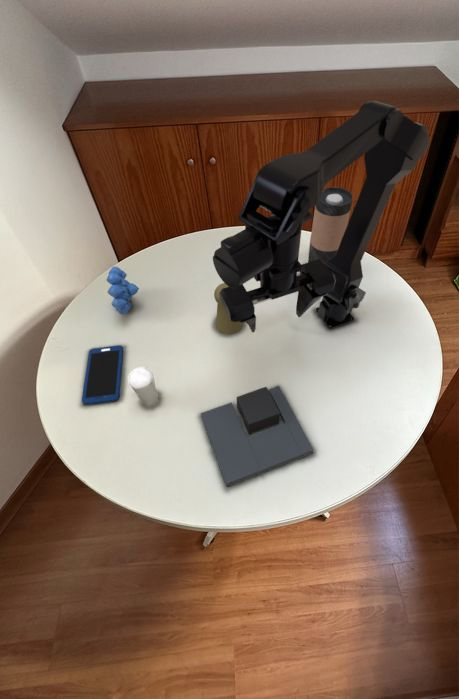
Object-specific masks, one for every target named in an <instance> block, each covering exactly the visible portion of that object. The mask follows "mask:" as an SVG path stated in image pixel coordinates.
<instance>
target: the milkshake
mask: <svg viewBox="0 0 459 699" xmlns="http://www.w3.org/2000/svg"><path fill="white" fill-rule="evenodd" d="M127 383H128V385H129V386H130V387H131V389H132V391H134V393H135V395H136V396H137V398H138V399H139V401H140V402H141V403H142V405H143V406H145V407H146V408H152V407H154V406H156V405H157V404H158V402H159V400H160V399H159V395H158V391H157V386H156V382H155V377H154V372H153V371H152V369H150V368H148V367H147V366H138V367H135V368H134V369H132V370H131V372H130V373H129V374H128V376H127Z"/></svg>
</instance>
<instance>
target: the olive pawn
mask: <svg viewBox="0 0 459 699" xmlns="http://www.w3.org/2000/svg"><path fill="white" fill-rule="evenodd" d="M226 287H229V286H227V285H226V284H225V283H224V282H223V283H220V284H219V285H217V286H216V288H215V289H214V291H213V292H214V293H213V298H214V301H215V302H216V304H217V305H216V317H215V320H216V321H215V328H216V329H217V331H218V332H219V333H221V334H223V335H232V334H236V333H238V332H239V331H240V330H242V327H243V323H240V322H233V321H230V319H229V317H228V315H227V313H226V311H225V309H224V307H223V305H222V303H221V301H220V296H219V293H220V291H221V289H223V288H226Z"/></svg>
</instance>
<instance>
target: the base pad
mask: <svg viewBox="0 0 459 699" xmlns="http://www.w3.org/2000/svg"><path fill="white" fill-rule="evenodd" d="M268 391H269V393H270V395H271V397H272V398H273V400H274V402H275V404H276V406H277V408H278V410H279V412H280V417H279V418H280V419H281V421H282V423H281V424H277V425H274V426H272V427H269V428H266V429H265V430H261V431H258V432H256V433H253V434H250V435H249V436H247V435H246V432H245V431H244V428H243V425H242V423H241V421H240V419H239V416H238V414H237V412H236V409H235V407H234V405H233V402H229V403H226V404H223V405H220V406H217V407H214V408H211V409H209V410H206V411H203V412H200V417H201V420H202V422H203V425H204V428H205V431H206V433H207V436H208V439H209V442H210V444H211V448H212V450H213V453H214V457H215V459H216V461H217V465H218V467H219V469H220V470H219V471H220V472H221V475H222V478H223V481H224V484H225V487H227V488H228V487H230V486H233V485H236V484H238V483H241V482H243V481H246V480H249V479H250V478H253V477H256V476H258V475H261V474H263V473H265V472H268V471H271V470H273V469H275V468H279V467H282V466H284V465H286V464H288V463H292V462H293V461H297V460H299V459H301V458H303V457H307V456H308V455H311V454H313V453H314V447H313V446H312V444H311V442H310V440H309V438H308V436H307V435H306V433H305V431H304V429H303V427H302V425H301V424H300V421H299V420H298V418H297V416H296V415H295V412H294V411H293V409H292V406H291V405H290V403H289V401H288V400H287V398H286V396H285V394H284V393H283V391H282V388H281V387H280V385H276V386H274V387H271V388H268Z"/></svg>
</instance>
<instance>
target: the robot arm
mask: <svg viewBox="0 0 459 699" xmlns="http://www.w3.org/2000/svg"><path fill="white" fill-rule="evenodd" d="M430 140H431V138H430V135H429V134H428V126H427V125H425V124H422V123H419V122H416V121H414V120H412V119H411V118H409V117H407V116H405V114H404V113H403V111H401V110H400V109H399V108H398V107H397V106H394V105H392V104H391V105H390V104H388V103H383V102H380V101H378V100H371V101H369V100H368V101H366V102H364V103H363V104H362V105H361V107H360V108H359V110H358V111H357V112H356V113H355V114H354V115H352V116H351V117H350V118H348V119H347V120H345V121H344V122H343V123H342V124H340V125H339V126H337V127H336V128H335V129H333V130H332V131H331V132H329V133H328V134H326V135H325V136H324V137H322V138H320V140H318V141H317V142H316V143H314V144H313V145H312V146H310V147H309V148H308V149H305V150H304V151H301V152H295V153H289V154H284V155H282V156H280V157H277V158H276V159H274V160H271V161H269V162H267V163H266V164H264V165H263V166H262V167H261V168H260V169H259V170H258V172H257V173H256V176H255V178H254V180H253V182H252V185H251V187H250V189H249V192H248V194H247V196H246V198H245V201H244V202H243V205H242V206H241V207H242V208H241V210H240V212H239V214H238V216H237V220H238V221H239V222H240V223H242V224H244V229H243V230H241V231H239V232H237V233H235V234H234V235H231V236H228V237H226V238H224V239H222V240H221V241H220V247H219V248H217V249H215V251H214V252H213V256H212V262H213V266H214V269H215V271H216V274H217V275H218V276H219V278H220V279H221V281H222V282H223V283H225V284H226V285H227V286H229V287H226V288H223V289H221V291H220V293H219V296H220V301H221V303H222V305H223V307H224V309H225V311H226V313H227V315H228V317H229V319H230V321H233V322H240V323H242V324H243V323H245V324H247V325H248V327H249V329H250V331H251V333H253V334H254V333H255V332H256V329H257V316H256V314H255V305H257V304H261V303H264V302H266V301H270V300H271V301H273V300H276V299H279V298H282V297H285V296H288V295H292V294H294V293H297V297H296V298H297V299H296V306H295V314H296V316H297V318H301V317H302V316H303V315H304V314H305V313H306V312H308V310H309V309H311V307H313V305H315V304H316V303H317V302H318V301H319V300H321V301H320V302H319V306H318V307H316V308H315V313H317V316H318V317H319V318H320V320H321V321H322V323H324V325H325V326H326V327H327V328H328V329H330V330H331V329H335V328H338V327H340V326H343V325H347V324H349V323H352V322H354V321H355V317H354V316H353V314H352V311H353V309H358V308H359V307H360V304H361V302H362V301H363V300H364V298H365V296H366V294H367V292H366V291H364V290H363V289H361V288H360V286H361V284H362V281H363V278H364V275H363V268H362V259H363V257H364V255H365V253H366V251H367V248H368V246H369V244H370V242H371V240H372V237H373V235H374V233H375V231H376V229H377V226H378V224H379V222H380V220H381V218H382V215H383V213H384V211H385V209H386V207H387V204H388V202H389V200H390V198H391V196H392V193H393V191H394V189H395V187H396V185H397V184H398V183H399V182H400V181H401V180H402V179H404V178H405V177H406V176H407V175H409V174H410V173H411V172H412V171H414V169H415V168H416V166H417V164H418V162H419V161H420V160H421V158H423V156H424V154H425V153H426V151H427V149H428V147H429V145H430ZM361 157H363V159H364V167H365V175H366V177H365V180H364V182H363V185H362V187H361V190H360V192H359V195H358V198H357V200H356V201H355V205H354V207H353V210H352V212H351V214H350V216H349V219H348V224H347V227H346V230H345V232H344V235H343V237H342V240H341V242H340V245H339V247H338V250H337V252H336V255H335V256H334V257H332V258H331V259H330V260H328V261H327V262H326V263H324V262H323V261H322V260H320V259H318V260H314V261H311V262H308V261H307V262H305V263H302V264H301V262H300V261H299V259H300V258H299V256H300V246H301V240H302V239H301V236H302V230H303V229H302V228H303V225H304V224H305V223H307V222H309V221H310V220H313V219H314V213H312V212H310V211H311V210H312V209H313V208H315V206H316V204H317V203H318V202H319V199H320V196H321V192H322V191H323V188H324V187H325V186H326V185H328V183H329V182H331V181H332V180H333V179H334V178H336V177H337V176H338V175H339V174H341V173H342V172H343V171H345V170H346V169H347V168H348V167H349V166H351V165H352V164H354V163H355V162H356V161H357V160H359V159H360V158H361ZM259 208H261V209H263V210H265V211H267V212H268V213H270V214H271V215H269V216H266V215H265V214H264V215H263V214H262V213H260V212H259V211H258V209H259ZM252 279H254V280H255V282H259V284H260V285H259V287H257V288H253V289H251V290H247V289H246V288H245V285H244V284H246V283H247V282H249V281H250V280H252Z"/></svg>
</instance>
